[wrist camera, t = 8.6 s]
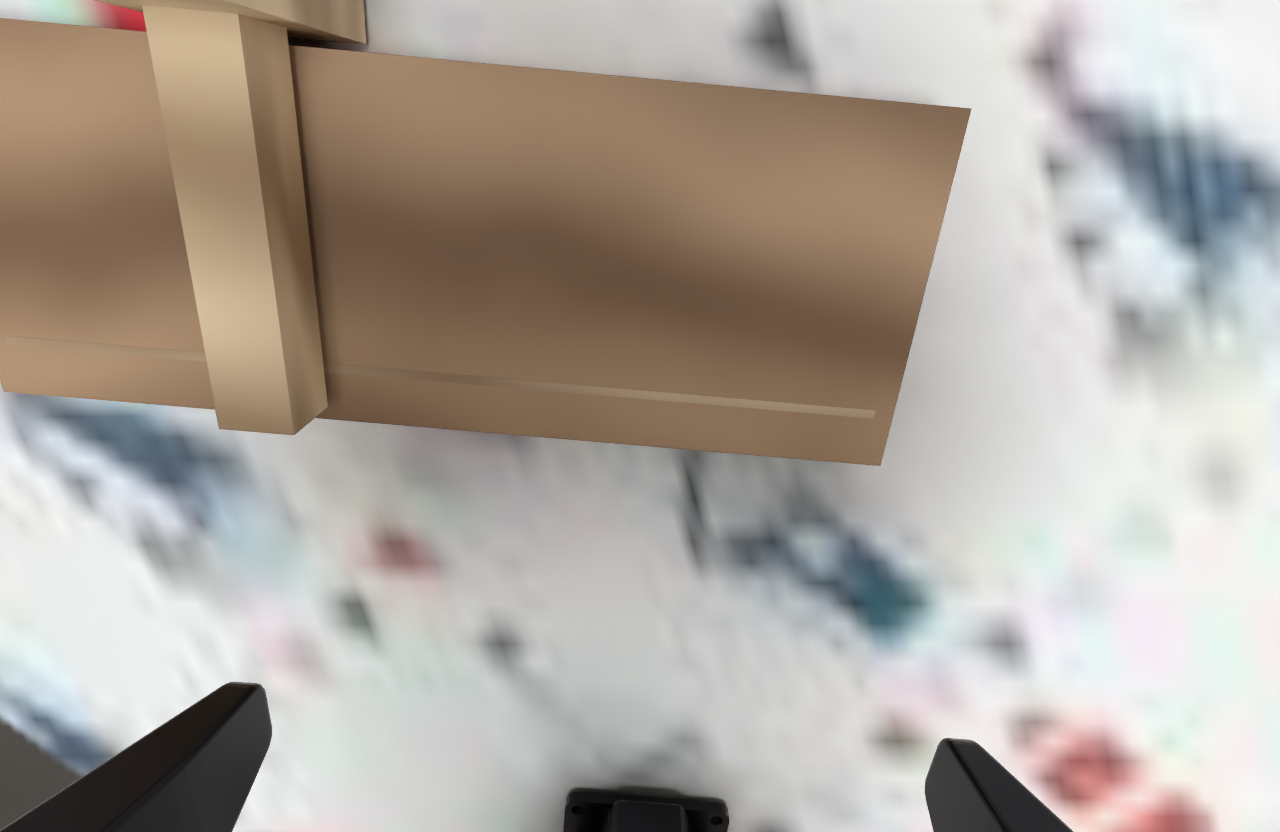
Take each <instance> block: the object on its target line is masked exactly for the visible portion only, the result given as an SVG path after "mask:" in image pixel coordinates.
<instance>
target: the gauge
mask: <svg viewBox="0 0 1280 832" xmlns="http://www.w3.org/2000/svg"><path fill="white" fill-rule="evenodd" d="M96 1H100V2H104V3H108V4H112V5H116V6H121V7H125V8H129V9H133V10H137V11H141V12H143V14H144V19H145V25H146V30H147V36H148V41H149V47H150V52H151V58H152V63H153V69H154V74H155V80H156V85H157V91H158V96H159V102H160V107H161V113H162V118H163V124H164V129H165V135H166V140H167V146H168V151H169V157H170V162H171V168H172V173H173V179H174V184H175V190H176V195H177V201H178V206H179V212H180V217H181V223H182V228H183V234H184V239H185V245H186V250H187V256H188V261H189V267H190V272H191V278H192V283H193V289H194V294H195V300H196V305H197V311H198V316H199V322H200V327H201V333H202V338H203V344H204V349H205V355H206V360H207V366H208V371H209V377H210V382H211V388H212V393H213V399H214V404H215V410H216V415H217V421H218V426H219V429H227V430H239V431H251V432H262V433H274V434H286V435H295V434H296V433H297V432H298V431H300V430H301V429H302V428H303V427H304V426H306V425H307V424H308V423H309V422H310V421H312V420H313V419H314V418H315V417H316V416H318V415H319V414H320V413H321V412H322V411H324V410H325V409H326V408H327V407H328V403H327V394H326V385H325V376H324V367H323V357H322V348H321V339H320V330H319V321H318V312H317V302H316V293H315V284H314V275H313V266H312V257H311V248H310V238H309V229H308V220H307V211H306V202H305V193H304V183H303V174H302V165H301V156H300V147H299V138H298V129H297V119H296V110H295V101H294V92H293V83H292V74H291V64H290V55H289V46H288V37H293V38H304V39H314V40H325V41H336V42H347V43H357V44H366V30H365V15H364V1H363V0H96Z"/></svg>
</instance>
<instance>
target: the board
mask: <svg viewBox="0 0 1280 832" xmlns="http://www.w3.org/2000/svg"><path fill="white" fill-rule="evenodd" d="M288 46H289V55H290V64H291V74H292V83H293V92H294V101H295V110H296V119H297V129H298V138H299V147H300V156H301V165H302V174H303V183H304V193H305V202H306V211H307V220H308V229H309V238H310V248H311V257H312V266H313V275H314V284H315V293H316V302H317V312H318V321H319V330H320V339H321V348H322V357H323V367H324V376H325V385H326V394H327V403H328V407H327V408H326V409H325V410H324V411H322V412H321V413H320V414H319V415H318V416H316V417H315V418H322V419H334V420H346V421H357V422H369V423H381V424H393V425H405V426H416V427H428V428H440V429H452V430H464V431H475V432H487V433H499V434H511V435H523V436H534V437H546V438H558V439H570V440H582V441H593V442H605V443H617V444H629V445H641V446H653V447H664V448H676V449H688V450H700V451H712V452H723V453H735V454H747V455H759V456H771V457H782V458H794V459H806V460H818V461H830V462H841V463H853V464H865V465H877V466H880V465H881V461H882V457H883V453H884V449H885V445H886V441H887V437H888V433H889V429H890V425H891V421H892V418H893V414H894V410H895V406H896V402H897V398H898V394H899V390H900V386H901V382H902V378H903V374H904V371H905V367H906V363H907V359H908V355H909V351H910V347H911V343H912V339H913V335H914V331H915V327H916V324H917V320H918V316H919V312H920V308H921V304H922V300H923V296H924V292H925V288H926V284H927V280H928V277H929V273H930V269H931V265H932V261H933V257H934V253H935V249H936V245H937V241H938V237H939V233H940V230H941V226H942V222H943V218H944V214H945V210H946V206H947V202H948V198H949V194H950V190H951V186H952V183H953V179H954V175H955V171H956V167H957V163H958V159H959V155H960V151H961V147H962V143H963V140H964V136H965V132H966V128H967V124H968V120H969V116H970V112H971V109H969V108H959V107H948V106H937V105H926V104H916V103H905V102H894V101H883V100H873V99H862V98H851V97H841V96H830V95H819V94H808V93H798V92H787V91H776V90H765V89H755V88H744V87H733V86H722V85H712V84H701V83H690V82H680V81H669V80H658V79H647V78H637V77H626V76H615V75H604V74H594V73H583V72H572V71H561V70H551V69H540V68H529V67H519V66H508V65H497V64H486V63H476V62H465V61H454V60H443V59H433V58H422V57H411V56H400V55H390V54H379V53H368V52H357V51H347V50H336V49H325V48H315V47H304V46H293V45H288ZM0 381H1V385H2V388H3V391H4V392H15V393H27V394H39V395H50V396H62V397H74V398H86V399H98V400H109V401H121V402H133V403H145V404H157V405H168V406H180V407H192V408H204V409H215V404H214V399H213V393H212V388H211V382H210V377H209V371H208V366H207V360H206V355H205V349H204V344H203V338H202V333H201V327H200V322H199V316H198V311H197V305H196V300H195V294H194V289H193V283H192V278H191V272H190V267H189V261H188V256H187V250H186V245H185V239H184V234H183V228H182V223H181V217H180V212H179V206H178V201H177V195H176V190H175V184H174V179H173V173H172V168H171V162H170V157H169V151H168V146H167V140H166V135H165V129H164V124H163V118H162V113H161V107H160V102H159V96H158V91H157V85H156V80H155V74H154V69H153V63H152V58H151V52H150V47H149V41H148V36H147V32H143V31H132V30H121V29H111V28H100V27H89V26H78V25H68V24H57V23H46V22H35V21H25V20H14V19H3V18H0Z"/></svg>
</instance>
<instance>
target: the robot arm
mask: <svg viewBox="0 0 1280 832" xmlns="http://www.w3.org/2000/svg"><path fill="white" fill-rule="evenodd" d="M271 737H272V725H271V719H270V714H269V708H268V703H267V697H266V692H265V689H264V688H263V687H262V686H261V685H260V684H256V683H244V682H230V683H227V684H225V685H223V686H221V687H220V688H218V689H217V690H215V691H214V692H212V693H211V694H209V695H208V696H206V697H204V698H203V699H201V700H200V701H198V702H197V703H195V704H194V705H192V706H191V707H189V708H188V709H186V710H184V711H183V712H181V713H180V714H178V715H177V716H175V717H174V718H172V719H171V720H169V721H168V722H166V723H164V724H163V725H161V726H160V727H158V728H157V729H155V730H154V731H152V732H151V733H149V734H148V735H146V736H144V737H143V738H141V739H140V740H138V741H137V742H135V743H134V744H132V745H131V746H129V747H128V748H126V749H124V750H123V751H121V752H120V753H118V754H117V755H115V756H114V757H112V758H111V759H109V760H108V761H106V762H104V763H103V764H101V765H100V766H98V767H97V768H95V769H94V770H92V771H91V772H89V773H88V774H86V775H84V776H83V777H81V778H80V779H78V780H77V781H75V782H74V783H73V784H71V785H69V786H68V787H66V788H64V789H63V790H61V791H60V792H58V793H57V794H55V795H54V796H52V797H51V798H49V799H48V800H46V801H44V802H43V803H42V804H40V805H38V806H37V807H35V808H34V809H32V810H31V811H29V812H28V813H26V814H24V815H23V816H21V817H20V818H18V819H17V820H15V821H14V822H12V823H11V824H9V825H8V826H6V827H4V828H3V829H1V830H0V832H232V831H233V828H234V826H235V824H236V822H237V819H238V817H239V815H240V812H241V810H242V808H243V806H244V803H245V801H246V799H247V796H248V794H249V792H250V789H251V787H252V785H253V783H254V780H255V778H256V776H257V773H258V771H259V769H260V767H261V764H262V762H263V760H264V757H265V755H266V753H267V751H268V748H269V745H270V742H271ZM925 796H926V802H927V806H928V810H929V814H930V818H931V822H932V826H933V830H934V832H1073V831H1072V830H1071V829H1070V828H1069V827H1068V826H1067V825H1066V824H1065V823H1064V822H1062V821H1061V820H1060V819H1059V818H1058V817H1057V816H1056V815H1055V814H1054V813H1053V812H1052V811H1051V810H1049V809H1048V808H1047V807H1046V806H1045V805H1044V804H1043V803H1042V802H1041V801H1040V800H1039V799H1038V798H1036V797H1035V796H1034V795H1033V794H1032V793H1031V792H1030V791H1029V790H1028V789H1027V788H1026V787H1025V786H1024V785H1022V784H1021V783H1020V782H1019V781H1018V780H1017V779H1016V778H1015V777H1014V776H1013V775H1012V774H1011V773H1009V772H1008V771H1007V770H1006V769H1005V768H1004V767H1003V766H1002V765H1001V764H1000V763H999V762H998V761H996V760H995V759H994V758H993V757H992V756H991V755H990V754H989V753H988V752H987V751H986V750H985V749H984V748H982V747H981V746H980V745H979V744H977V743H976V742H974V741H972V740H965V739H953V738H945V739H943V740H942V741H941V742H940V743H939V745H938V747H937V750H936V752H935V755H934V758H933V761H932V763H931V766H930V769H929V772H928V774H927V777H926V781H925ZM728 825H729V815H728V808H727V807H726V806H725V805H723V804H721V803H716V802H703V801H690V800H677V799H664V798H651V797H638V796H624V795H611V794H598V793H585V792H574V793H571V794H570V795H568V796H567V799H566V805H565V817H564V832H727V830H728Z"/></svg>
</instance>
